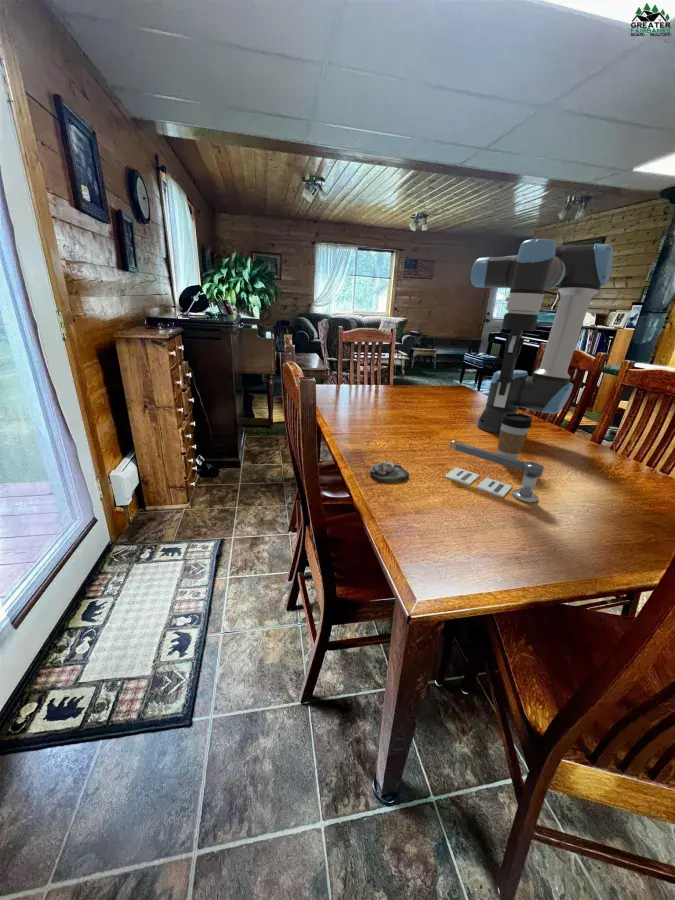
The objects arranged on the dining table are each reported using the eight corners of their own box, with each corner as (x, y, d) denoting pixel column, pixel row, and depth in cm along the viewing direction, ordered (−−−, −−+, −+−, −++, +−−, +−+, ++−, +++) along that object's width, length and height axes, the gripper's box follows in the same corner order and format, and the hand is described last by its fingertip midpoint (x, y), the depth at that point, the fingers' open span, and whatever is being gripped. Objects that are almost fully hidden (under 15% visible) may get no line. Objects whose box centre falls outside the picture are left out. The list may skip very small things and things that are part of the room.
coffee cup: (523, 467, 108) (537, 421, 102) (494, 464, 110) (506, 418, 104) (516, 456, 116) (528, 413, 110) (489, 453, 117) (500, 410, 111)
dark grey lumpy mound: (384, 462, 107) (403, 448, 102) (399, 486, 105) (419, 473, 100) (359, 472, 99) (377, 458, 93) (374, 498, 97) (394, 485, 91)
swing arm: (543, 474, 89) (546, 464, 88) (538, 480, 86) (542, 469, 85) (451, 446, 103) (453, 437, 102) (444, 450, 100) (446, 441, 99)
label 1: (456, 468, 105) (456, 466, 105) (479, 476, 101) (479, 474, 101) (444, 477, 100) (444, 475, 99) (468, 485, 95) (468, 484, 95)
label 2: (486, 478, 100) (486, 477, 100) (511, 487, 96) (512, 485, 96) (475, 488, 94) (476, 486, 94) (502, 498, 90) (503, 496, 90)
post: (515, 488, 95) (522, 466, 93) (539, 496, 92) (547, 474, 89) (509, 496, 91) (515, 474, 88) (534, 505, 88) (541, 482, 85)
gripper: (508, 311, 93) (488, 398, 102) (501, 311, 82) (480, 408, 92) (540, 313, 89) (516, 403, 99) (537, 314, 79) (511, 414, 88)
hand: (499, 406), depth 95 cm, fingers closed
